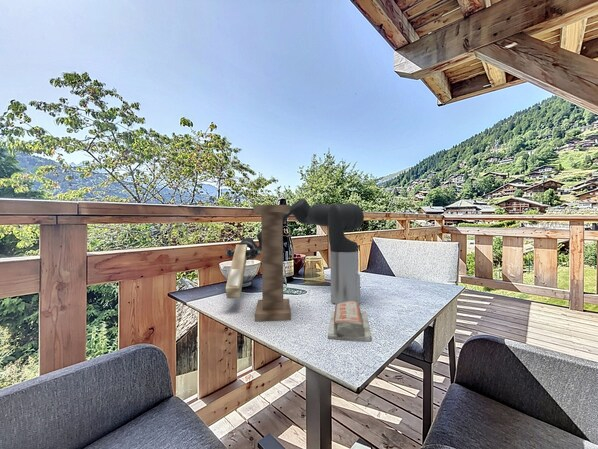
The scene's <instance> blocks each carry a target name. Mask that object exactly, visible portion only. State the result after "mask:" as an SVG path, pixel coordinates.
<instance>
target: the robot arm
mask: <svg viewBox="0 0 598 449" xmlns="http://www.w3.org/2000/svg"><path fill="white" fill-rule="evenodd" d="M291 215H293V216H294V218H295V219H296V220H297V222H298V223H299V224H301V225H302V224H303V225H308V224H309V225H315V226H320V227H328V242H329V250H330V251H329V252H330V254H329V255H330V302H331V303H332V304H335V305H337V304H339V303H343V302H348V301H355V302H357V303H359V304H361V274H360V273H359V253H358V252H359V250H358V249H359V246H358V243H357V242H356V241H353V240H351V239H349V238H347V237H346V236H345V232H351V231H356V230H358V229H359V228H361V227H362V225H363V223H364V220H365V215H364V212H363V210H362V208H361V207H360V206H358V205H357V204H354V203H334V204H328V203H314V204H312V205H310V204H309V202H308V201H307V199H306V198H301V199H299V200H296V201H295V202H294V203H292V204H291V205H290V212H289V213H288V214H282V222H283V224H284V225H285V223H286V222H285V221H287V220H288V218H289V217H290V216H291ZM284 222H285V223H284ZM256 238H257V241H258V242H259V244H258V245H257V243H256V242H255V241H254V240H253V238H252V237H244V238H243V239H242V240H241V241H240V242H239V244H237V245H247V250H246V251H245V253H246V257H247V260H246V261H248V260H253V259H255V258H257V257H258V256H260V255H261V253H262V230H261V231H259V232H258V233H257V234H256ZM234 252H235V248H234V249H233V250H232V248H231V249H229V248H226V250H225V253H226V254H225V255H226V257H228V258H231V257H233V256H234Z"/></svg>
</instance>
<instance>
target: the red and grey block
mask: <svg viewBox="0 0 598 449" xmlns="http://www.w3.org/2000/svg"><path fill="white" fill-rule="evenodd" d="M330 313H331V314H330V320H329V327H328V334H327V339H328V340H338V341H354V342H367V343H368V342H372V341H371V340H372V333H371V328H370V325H369V320H368V315H367V311H366V310H361V308H360V303H357V302H355V301H348V302H343V303H339V304H335V306H334V310H331V312H330Z"/></svg>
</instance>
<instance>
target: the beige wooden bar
mask: <svg viewBox="0 0 598 449" xmlns="http://www.w3.org/2000/svg"><path fill="white" fill-rule="evenodd" d="M234 249H235V252H234V256H232V260H231V264H230V269H229V272H228V277H227V281H226V285H225V294H226V299H241V296H242V295H241V294H242V288H243V282H244V277H245V270H246V265H247V261H248V260H247V257H246V253H245V251H246V250H247V245H238V244H235V248H234Z"/></svg>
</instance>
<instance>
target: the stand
mask: <svg viewBox="0 0 598 449" xmlns="http://www.w3.org/2000/svg"><path fill="white" fill-rule="evenodd" d="M290 206H291V205H290V204H253V208H252V211H253V213H254V214H257V215H261V231H262V250H261V273H262V274H261V284H262V286H261V289H262V290H261V292H262V297H261V298H262V299H258V300H257V303H256V307H255V310H254V322H274V321H275V322H276V321H277V322H279V321H292V312H291V304H290V299H289V298H284V247H283V246H284V243H283V242H284V238H283V237H284V233H283V232H284V231H283V228H284V226H283V222H282V214H288V213H289V212H290Z"/></svg>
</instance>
